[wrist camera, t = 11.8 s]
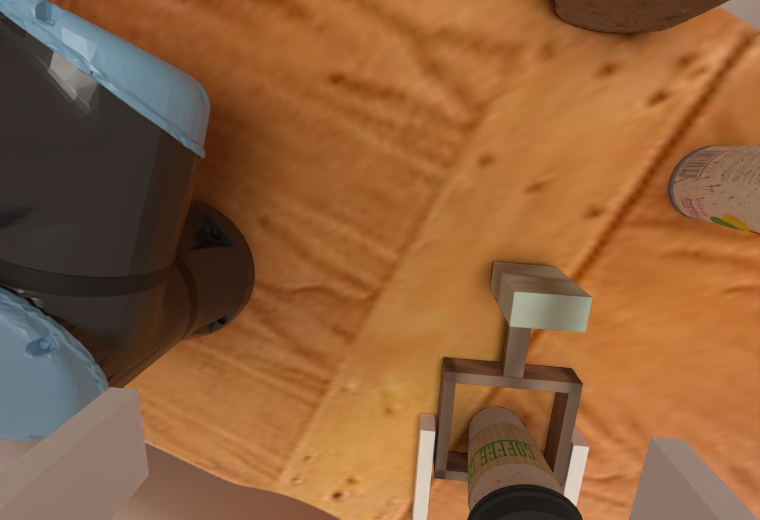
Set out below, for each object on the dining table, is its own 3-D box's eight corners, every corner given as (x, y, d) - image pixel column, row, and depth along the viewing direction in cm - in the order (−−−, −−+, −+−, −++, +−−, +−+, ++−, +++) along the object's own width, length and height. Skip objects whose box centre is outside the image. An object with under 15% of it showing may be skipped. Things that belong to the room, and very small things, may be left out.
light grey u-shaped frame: (409, 545, 53) (408, 568, 50) (420, 413, 47) (420, 430, 44) (550, 562, 51) (558, 586, 48) (578, 428, 46) (589, 446, 43)
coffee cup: (472, 380, 46) (498, 486, 31) (553, 410, 46) (617, 529, 31) (440, 448, 48) (450, 574, 34) (517, 475, 48) (559, 613, 34)
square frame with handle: (433, 458, 49) (437, 534, 39) (453, 256, 42) (464, 288, 32) (552, 471, 48) (586, 551, 38) (591, 266, 41) (645, 301, 31)
